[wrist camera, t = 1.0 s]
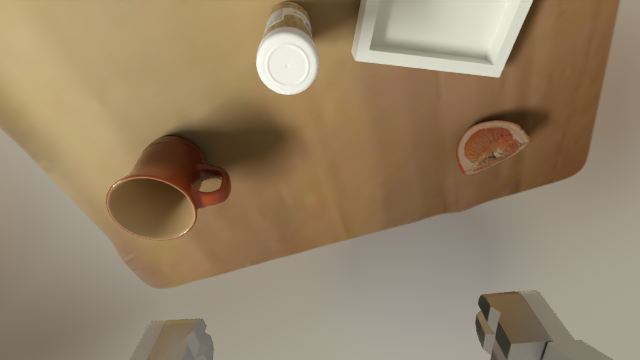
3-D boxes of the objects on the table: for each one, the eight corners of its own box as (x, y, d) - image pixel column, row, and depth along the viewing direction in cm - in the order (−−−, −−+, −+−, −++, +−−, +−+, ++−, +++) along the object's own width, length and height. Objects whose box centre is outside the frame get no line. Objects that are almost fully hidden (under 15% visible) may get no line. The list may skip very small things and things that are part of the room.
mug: (155, 188, 46) (125, 244, 38) (130, 130, 41) (89, 180, 33) (244, 179, 47) (235, 234, 38) (230, 121, 42) (216, 168, 33)
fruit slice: (506, 102, 43) (528, 120, 39) (516, 143, 46) (537, 163, 42) (441, 134, 45) (456, 154, 41) (456, 170, 48) (471, 192, 44)
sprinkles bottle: (319, 28, 36) (332, 70, 25) (286, 56, 38) (285, 108, 27) (290, -11, 34) (290, 17, 23) (256, 21, 35) (241, 62, 24)
